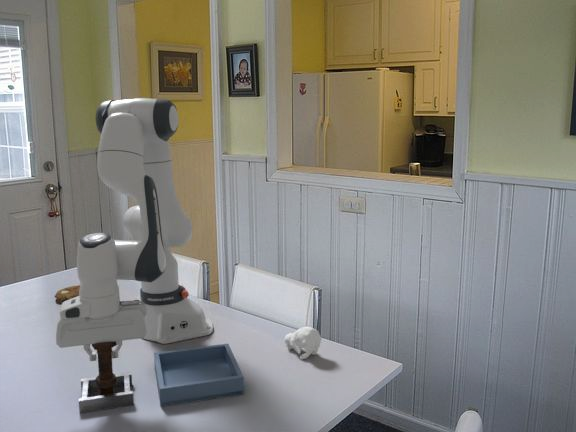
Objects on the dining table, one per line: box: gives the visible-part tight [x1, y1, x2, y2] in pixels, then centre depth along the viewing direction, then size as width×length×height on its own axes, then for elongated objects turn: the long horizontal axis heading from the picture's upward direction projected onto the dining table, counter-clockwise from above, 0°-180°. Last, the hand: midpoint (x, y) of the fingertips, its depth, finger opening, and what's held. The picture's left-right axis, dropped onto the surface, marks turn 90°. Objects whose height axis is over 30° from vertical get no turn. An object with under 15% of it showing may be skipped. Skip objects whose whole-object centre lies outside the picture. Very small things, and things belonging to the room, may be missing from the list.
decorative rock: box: [54, 284, 80, 305], centre depth 206 cm, size 11×4×15 cm
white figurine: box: [284, 326, 322, 360], centre depth 161 cm, size 6×8×12 cm
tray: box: [153, 343, 245, 408], centre depth 146 cm, size 20×20×4 cm
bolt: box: [91, 341, 117, 396], centre depth 136 cm, size 6×5×15 cm
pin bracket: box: [78, 372, 135, 414], centre depth 138 cm, size 12×11×3 cm
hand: (104, 358), depth 136 cm, fingers closed on bolt, 4 cm apart
